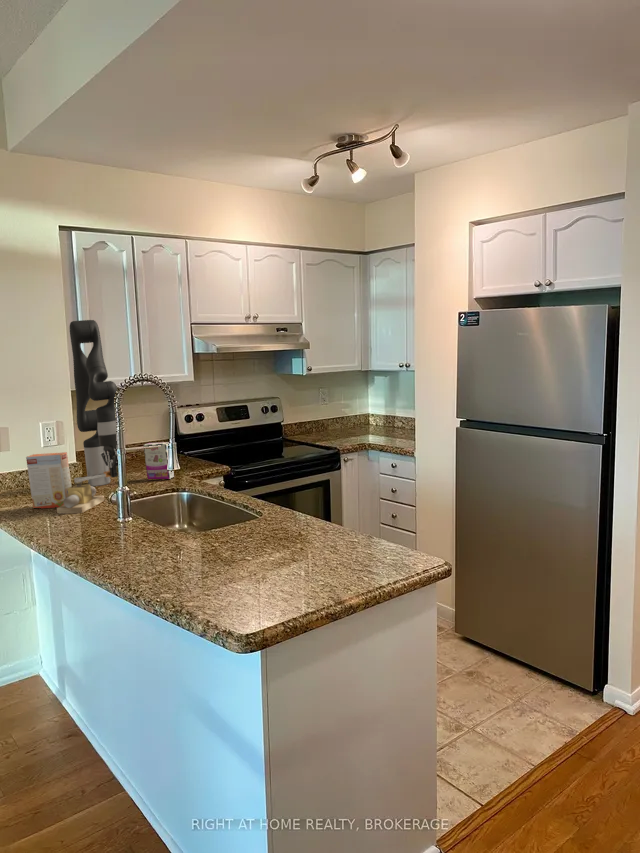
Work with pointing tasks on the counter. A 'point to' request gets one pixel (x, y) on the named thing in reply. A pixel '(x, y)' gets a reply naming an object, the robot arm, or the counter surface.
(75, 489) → the valve on pipe
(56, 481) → the cracker box
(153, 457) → the candy bar box
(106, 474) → the valve lever
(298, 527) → the counter surface
